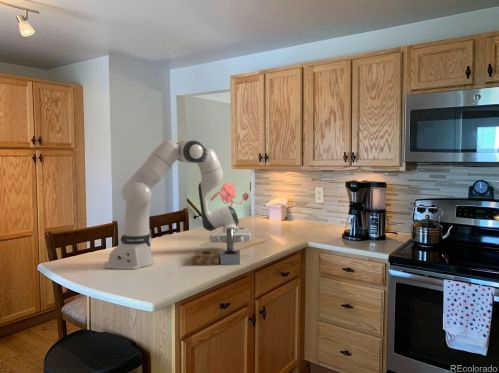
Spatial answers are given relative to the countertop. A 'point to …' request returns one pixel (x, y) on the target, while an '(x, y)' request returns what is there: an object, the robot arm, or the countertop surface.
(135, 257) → the robot arm
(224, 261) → the socket block
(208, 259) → the wooden square hole block
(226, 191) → the figurine
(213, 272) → the countertop surface
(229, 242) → the steel axle
